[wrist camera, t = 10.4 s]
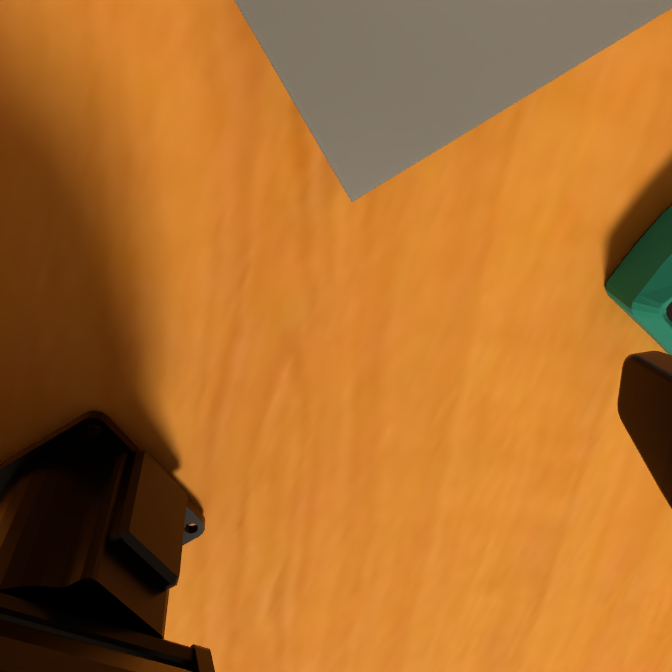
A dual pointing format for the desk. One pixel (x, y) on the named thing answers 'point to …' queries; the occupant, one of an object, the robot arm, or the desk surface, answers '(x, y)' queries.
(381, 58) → the ring holder
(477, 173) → the desk surface
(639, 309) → the digital multimeter
